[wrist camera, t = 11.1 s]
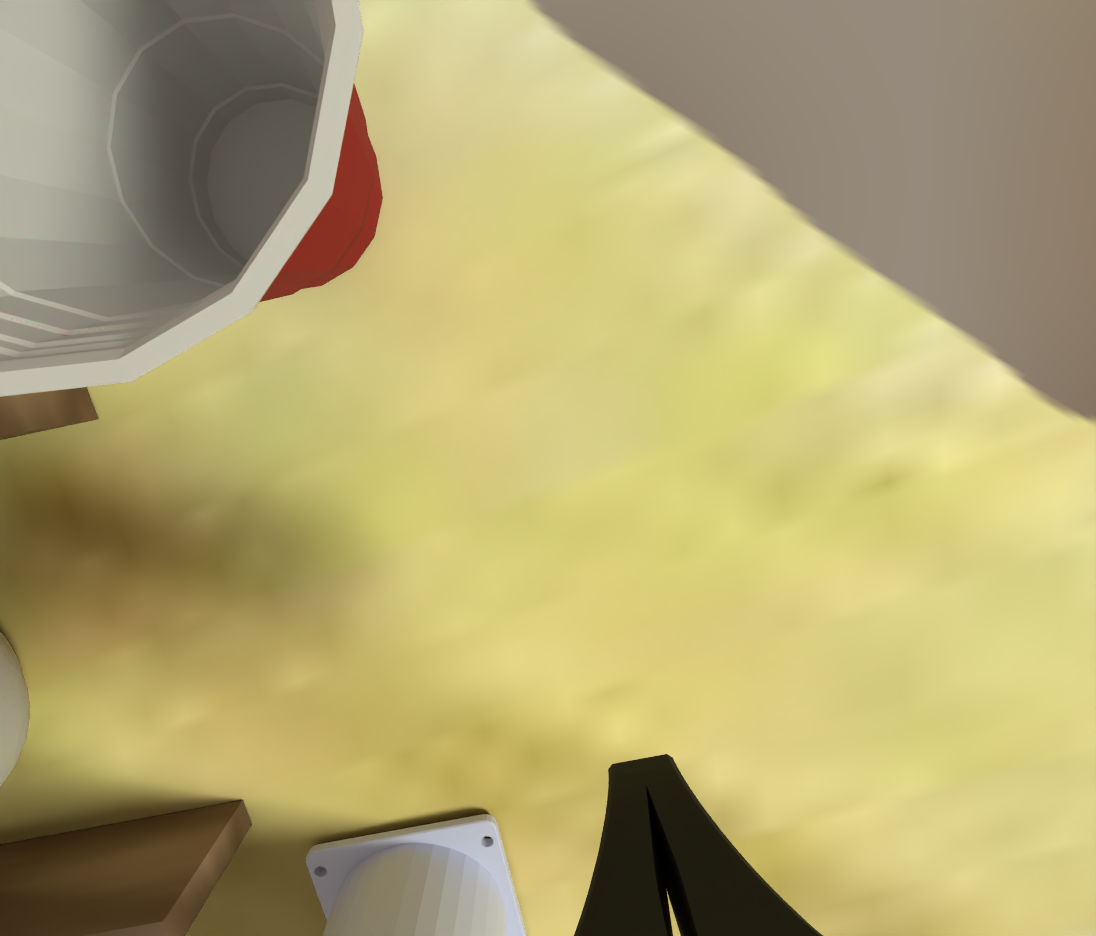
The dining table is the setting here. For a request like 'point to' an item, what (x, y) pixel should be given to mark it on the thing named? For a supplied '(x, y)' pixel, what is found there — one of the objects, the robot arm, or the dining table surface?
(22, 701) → the teacup
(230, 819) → the cubby
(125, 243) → the plastic cup
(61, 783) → the dining table surface
